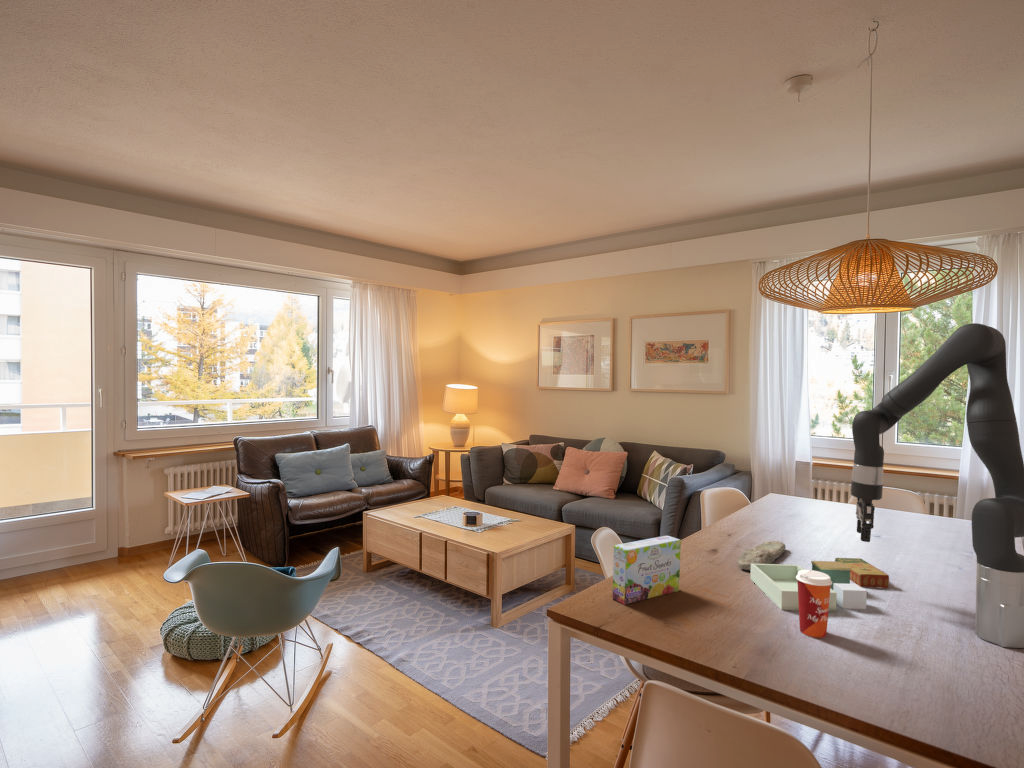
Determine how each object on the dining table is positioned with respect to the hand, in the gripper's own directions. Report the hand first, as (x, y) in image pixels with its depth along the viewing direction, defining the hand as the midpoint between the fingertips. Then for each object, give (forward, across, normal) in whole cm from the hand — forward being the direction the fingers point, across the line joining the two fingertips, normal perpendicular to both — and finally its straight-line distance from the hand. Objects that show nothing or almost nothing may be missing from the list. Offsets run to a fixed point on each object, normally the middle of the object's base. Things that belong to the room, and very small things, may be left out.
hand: (863, 537), depth 159 cm
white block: (+16, -11, +4) cm, 20 cm away
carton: (+17, +15, -2) cm, 23 cm away
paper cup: (+16, -35, +13) cm, 40 cm away
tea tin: (+17, 0, +7) cm, 18 cm away
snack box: (+18, -29, +54) cm, 64 cm away
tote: (+17, -10, +18) cm, 27 cm away
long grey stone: (+19, +21, +25) cm, 38 cm away
